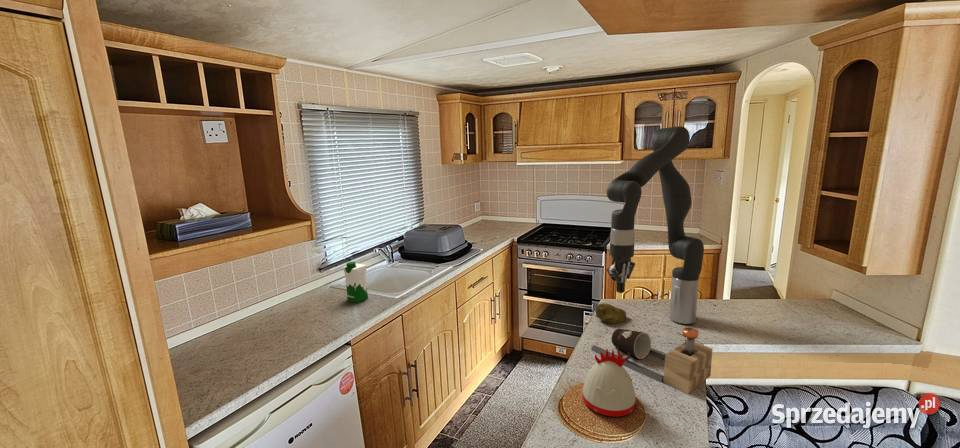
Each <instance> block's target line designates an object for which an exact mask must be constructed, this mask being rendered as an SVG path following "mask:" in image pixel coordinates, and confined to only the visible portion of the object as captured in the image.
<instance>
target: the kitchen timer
mask: <svg viewBox="0 0 960 448" xmlns="http://www.w3.org/2000/svg"><path fill="white" fill-rule="evenodd" d="M605 350H606V355H605V356H604V355H603V353H602V352H600V354H599V355H600V358H598V356H597V354H594V359H595V361H596V363H595V364H594V365H593V366H592V367H590V370H589V371H588V373H587V375H586V377H585V380H584V383H583V388H582V400H583V403H584V404H585V406H586V407H588V408H589V409H591V411H594V412H595V413H597V414H601V415H604V416H608V417H624V416H627V415H629V414H632V412H634V410H635V408H636V391H635V387H634V385H633V379H632V378H631V377H630V375H629V373H628V371H627V369H626V368H625V366H624V365H623V364H624V362H625V360H626V358H627V356H624V357H622V350H621V351H620V352H619V354H618V353H617V355H618V357H617V358H616V357H615V355H614V354H615V352H614V351H615V350H614V349H612V351H611V353H612V355H611V357H610V356H609V353H608V351H609V350H608V348H606V349H605ZM621 357H622V358H623V359H621Z"/></svg>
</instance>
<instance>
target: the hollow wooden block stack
mask: <svg viewBox="0 0 960 448" xmlns="http://www.w3.org/2000/svg"><path fill="white" fill-rule="evenodd" d="M713 351H714V350H713V348H712V347H709V346H706V345H704V344H701V343H698V342H695V343H694V354H693V355H692V356H688V355H685V354H684V352H685V342H683V343H682V344H680V345H678V346H677V347H675V348H674V349H672V350H671V351H669V352H667V353H666V355H665V360H664V371H663V376H664V381H663V384H664V385H667V386H670V387H672V388H674V389H676V390H678V391H680V392H683V393H685V394H687V395H688V394H690V393H692V391H693V390H695V389H696V388H697V387H699V386H700V385H701V384H702V383H704V381H706V380H708V379H709V378H710V377H711V370H712V363H713V362H712V359H713Z"/></svg>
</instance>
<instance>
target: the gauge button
mask: <svg viewBox="0 0 960 448" xmlns="http://www.w3.org/2000/svg"><path fill="white" fill-rule="evenodd" d="M682 336H683V337H684V338H685V340H684V343H685V352H684V354H685V355H688V356H692V355H693V354H694V343H695V339H698V338H699V330H698V329H696V328H693V327H683V329H682Z"/></svg>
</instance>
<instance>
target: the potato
mask: <svg viewBox="0 0 960 448" xmlns="http://www.w3.org/2000/svg"><path fill="white" fill-rule="evenodd" d="M594 311H595V316H596V318H597V319H599V320H600V321H602V322H606V323H609V324H619V323H623V322H624V321H626V319H627V312H626V311H625V309H622V308H619V307H616V306H614V305H611V304H610V303H605V302H602V303H599V304H597V305H596V306H595V310H594Z"/></svg>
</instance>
